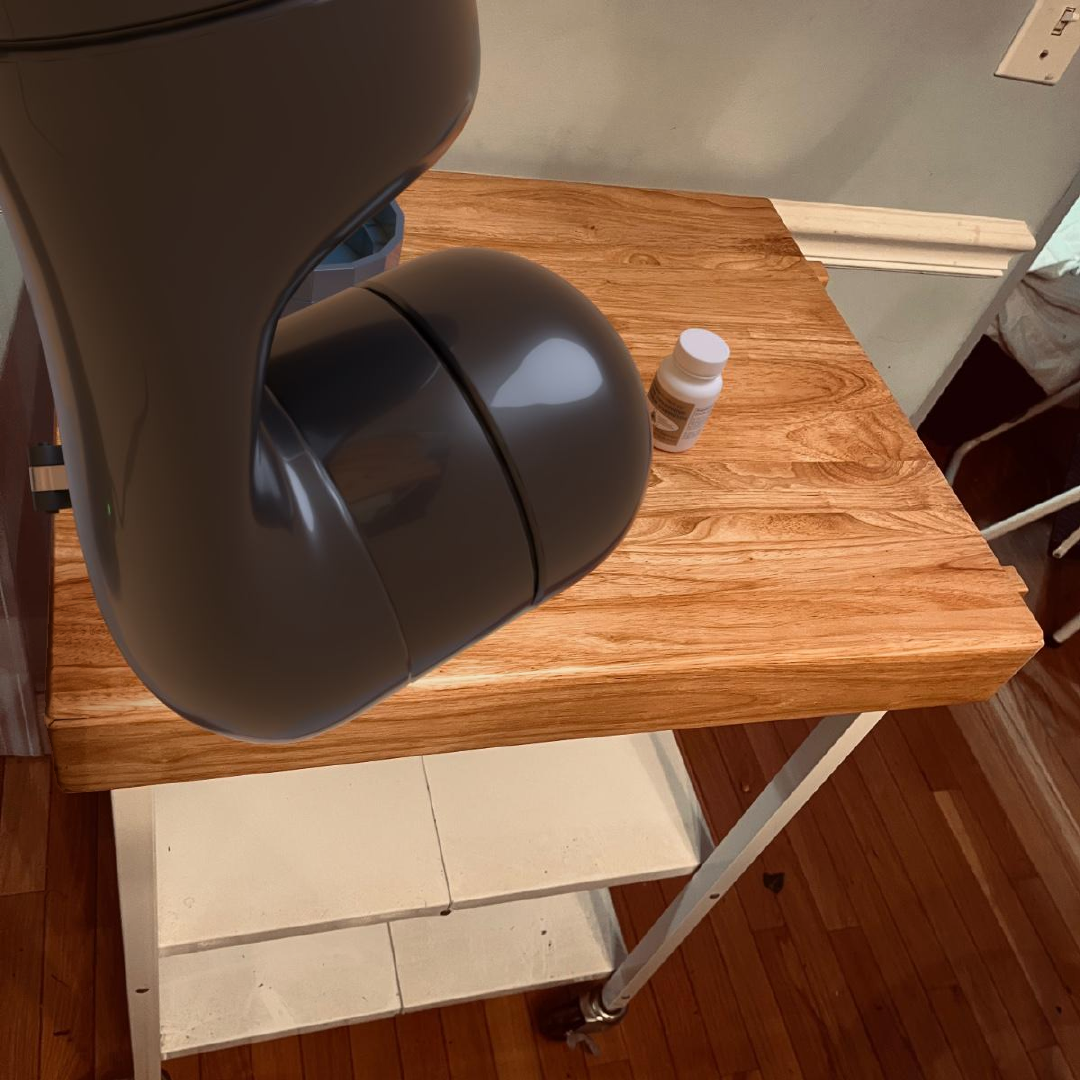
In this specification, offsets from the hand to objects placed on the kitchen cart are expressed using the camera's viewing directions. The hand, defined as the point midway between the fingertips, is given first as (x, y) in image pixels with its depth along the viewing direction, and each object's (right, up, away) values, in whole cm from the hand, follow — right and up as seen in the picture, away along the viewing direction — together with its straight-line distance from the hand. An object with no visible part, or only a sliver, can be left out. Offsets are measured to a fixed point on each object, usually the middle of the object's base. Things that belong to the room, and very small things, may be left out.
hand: (182, 462), depth 51 cm
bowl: (0, +15, +25) cm, 29 cm away
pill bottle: (+26, +4, +23) cm, 35 cm away
